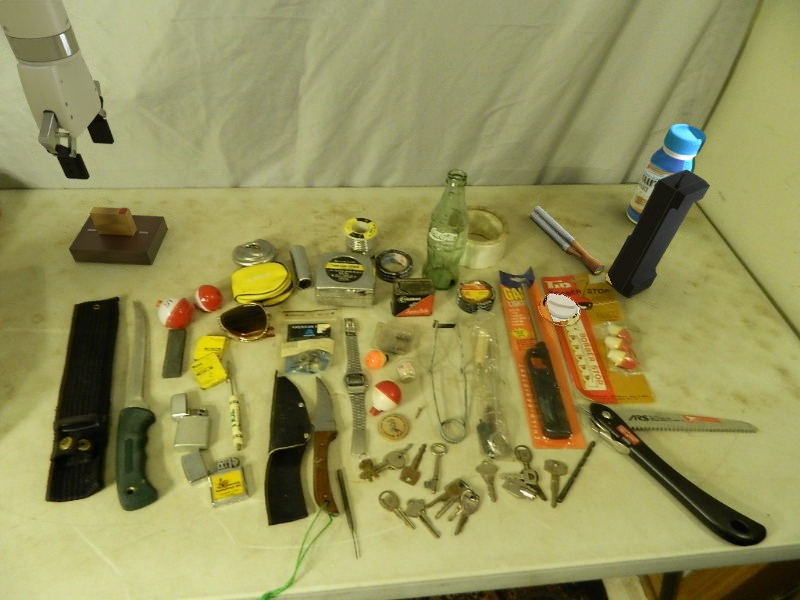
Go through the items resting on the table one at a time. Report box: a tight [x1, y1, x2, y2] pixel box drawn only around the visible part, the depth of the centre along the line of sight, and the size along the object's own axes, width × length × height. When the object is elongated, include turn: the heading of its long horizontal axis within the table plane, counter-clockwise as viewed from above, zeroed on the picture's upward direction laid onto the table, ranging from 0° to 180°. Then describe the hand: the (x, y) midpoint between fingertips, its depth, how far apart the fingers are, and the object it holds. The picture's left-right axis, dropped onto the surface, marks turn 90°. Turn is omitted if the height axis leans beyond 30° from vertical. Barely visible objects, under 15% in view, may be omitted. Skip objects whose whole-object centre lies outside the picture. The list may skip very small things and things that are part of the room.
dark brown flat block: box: [68, 214, 169, 266], centre depth 95 cm, size 13×10×3 cm
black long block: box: [606, 169, 711, 298], centre depth 90 cm, size 8×6×25 cm
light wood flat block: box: [89, 206, 137, 236], centre depth 92 cm, size 6×2×5 cm, turn 91°
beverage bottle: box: [626, 123, 707, 225], centre depth 106 cm, size 8×8×20 cm
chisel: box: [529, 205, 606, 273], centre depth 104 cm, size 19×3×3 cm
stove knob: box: [537, 293, 581, 327], centre depth 92 cm, size 7×7×2 cm
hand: (91, 159), depth 80 cm, fingers open, 9 cm apart
